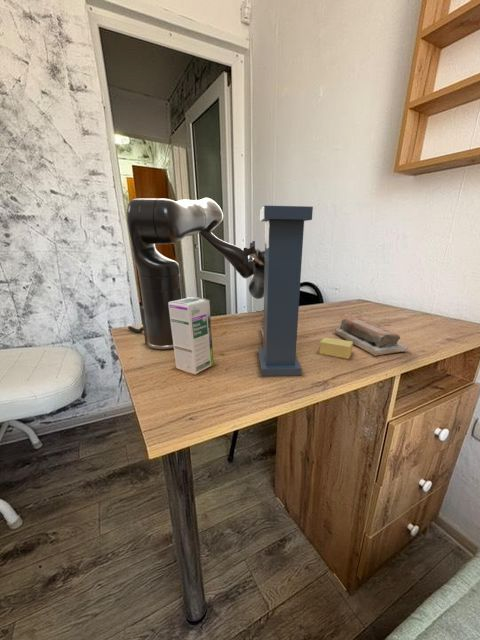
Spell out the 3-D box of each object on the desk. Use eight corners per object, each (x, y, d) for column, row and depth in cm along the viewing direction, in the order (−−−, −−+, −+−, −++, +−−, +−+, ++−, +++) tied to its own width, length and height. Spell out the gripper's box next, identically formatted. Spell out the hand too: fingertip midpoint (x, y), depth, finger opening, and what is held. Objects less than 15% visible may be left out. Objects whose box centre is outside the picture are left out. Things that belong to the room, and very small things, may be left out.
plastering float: (335, 317, 83) (364, 314, 86) (333, 333, 85) (362, 330, 88) (377, 337, 67) (412, 333, 70) (374, 357, 69) (407, 352, 72)
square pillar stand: (261, 376, 59) (264, 205, 48) (258, 353, 70) (259, 210, 59) (300, 375, 60) (313, 206, 48) (291, 352, 71) (299, 211, 59)
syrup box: (195, 375, 59) (189, 304, 54) (174, 368, 62) (167, 300, 56) (214, 365, 63) (210, 299, 58) (194, 359, 66) (189, 295, 61)
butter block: (319, 353, 71) (320, 341, 70) (323, 348, 74) (324, 336, 73) (348, 359, 68) (350, 347, 67) (351, 353, 71) (353, 341, 70)
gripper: (243, 257, 98) (243, 231, 82) (285, 257, 99) (293, 232, 83) (243, 278, 97) (243, 256, 81) (286, 279, 98) (294, 257, 82)
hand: (269, 244), depth 82 cm, fingers open, 8 cm apart
